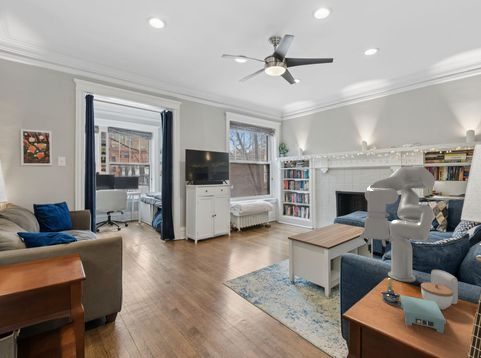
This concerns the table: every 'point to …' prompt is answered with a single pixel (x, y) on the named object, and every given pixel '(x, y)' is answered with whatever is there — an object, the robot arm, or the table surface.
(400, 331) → the table surface
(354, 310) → the table surface
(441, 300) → the lidded jar
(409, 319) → the spoked knob panel
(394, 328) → the table surface
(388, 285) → the cross handle valve
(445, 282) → the photo printer
